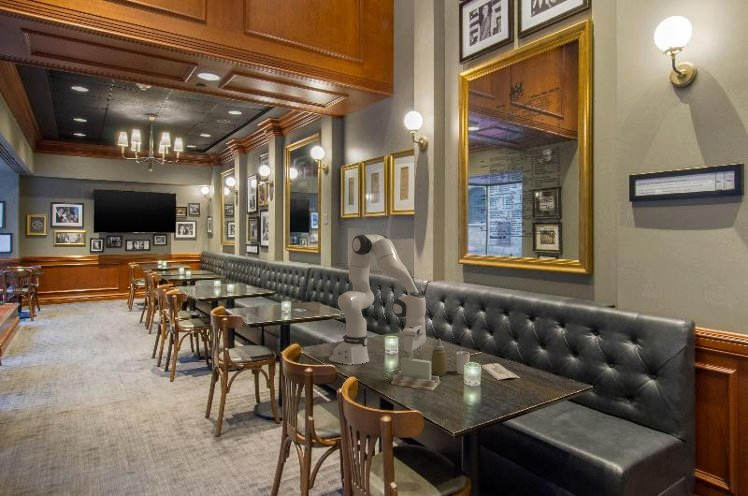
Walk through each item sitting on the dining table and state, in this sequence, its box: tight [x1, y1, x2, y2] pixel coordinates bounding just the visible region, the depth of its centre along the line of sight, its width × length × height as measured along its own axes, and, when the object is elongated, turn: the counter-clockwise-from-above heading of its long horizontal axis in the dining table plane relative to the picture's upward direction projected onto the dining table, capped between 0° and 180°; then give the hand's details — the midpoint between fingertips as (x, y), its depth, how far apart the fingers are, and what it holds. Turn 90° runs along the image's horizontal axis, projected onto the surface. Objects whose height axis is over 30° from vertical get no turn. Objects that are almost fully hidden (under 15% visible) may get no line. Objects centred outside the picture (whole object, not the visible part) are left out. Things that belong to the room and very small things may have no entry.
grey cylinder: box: [455, 351, 471, 376], centre depth 223 cm, size 7×7×10 cm
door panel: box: [400, 357, 432, 380], centre depth 207 cm, size 14×3×10 cm, turn 65°
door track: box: [390, 370, 441, 392], centre depth 207 cm, size 20×12×4 cm, turn 65°
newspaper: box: [481, 362, 521, 381], centre depth 223 cm, size 23×12×2 cm, turn 8°
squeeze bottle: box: [431, 338, 448, 377], centre depth 220 cm, size 8×8×18 cm
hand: (415, 356), depth 207 cm, fingers open, 8 cm apart
